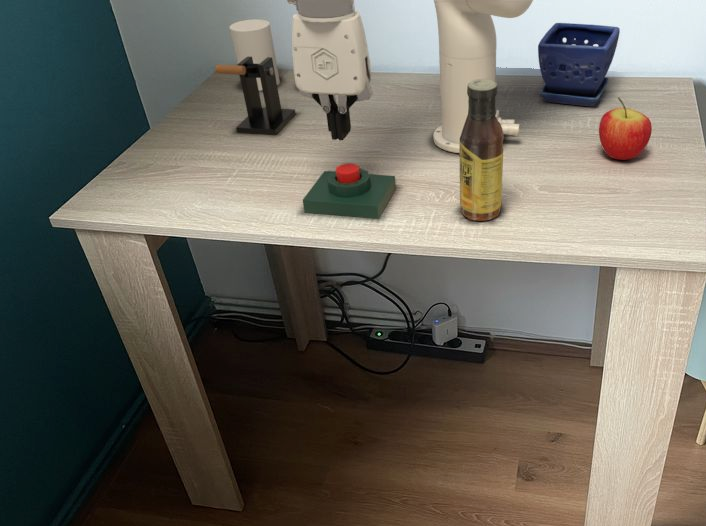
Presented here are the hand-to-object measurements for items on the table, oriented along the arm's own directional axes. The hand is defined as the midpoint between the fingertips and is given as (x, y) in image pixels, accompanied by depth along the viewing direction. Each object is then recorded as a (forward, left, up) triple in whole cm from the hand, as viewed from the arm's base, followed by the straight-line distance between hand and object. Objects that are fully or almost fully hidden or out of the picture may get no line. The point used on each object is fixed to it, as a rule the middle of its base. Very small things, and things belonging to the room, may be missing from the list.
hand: (340, 136), depth 108 cm
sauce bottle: (-21, +1, -11) cm, 24 cm away
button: (0, 0, -7) cm, 7 cm away
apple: (-41, -22, -11) cm, 48 cm away
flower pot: (-31, -48, -11) cm, 59 cm away
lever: (+26, -23, 0) cm, 34 cm away
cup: (+36, -47, -11) cm, 60 cm away
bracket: (+26, -27, -11) cm, 39 cm away
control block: (0, 0, -11) cm, 11 cm away
